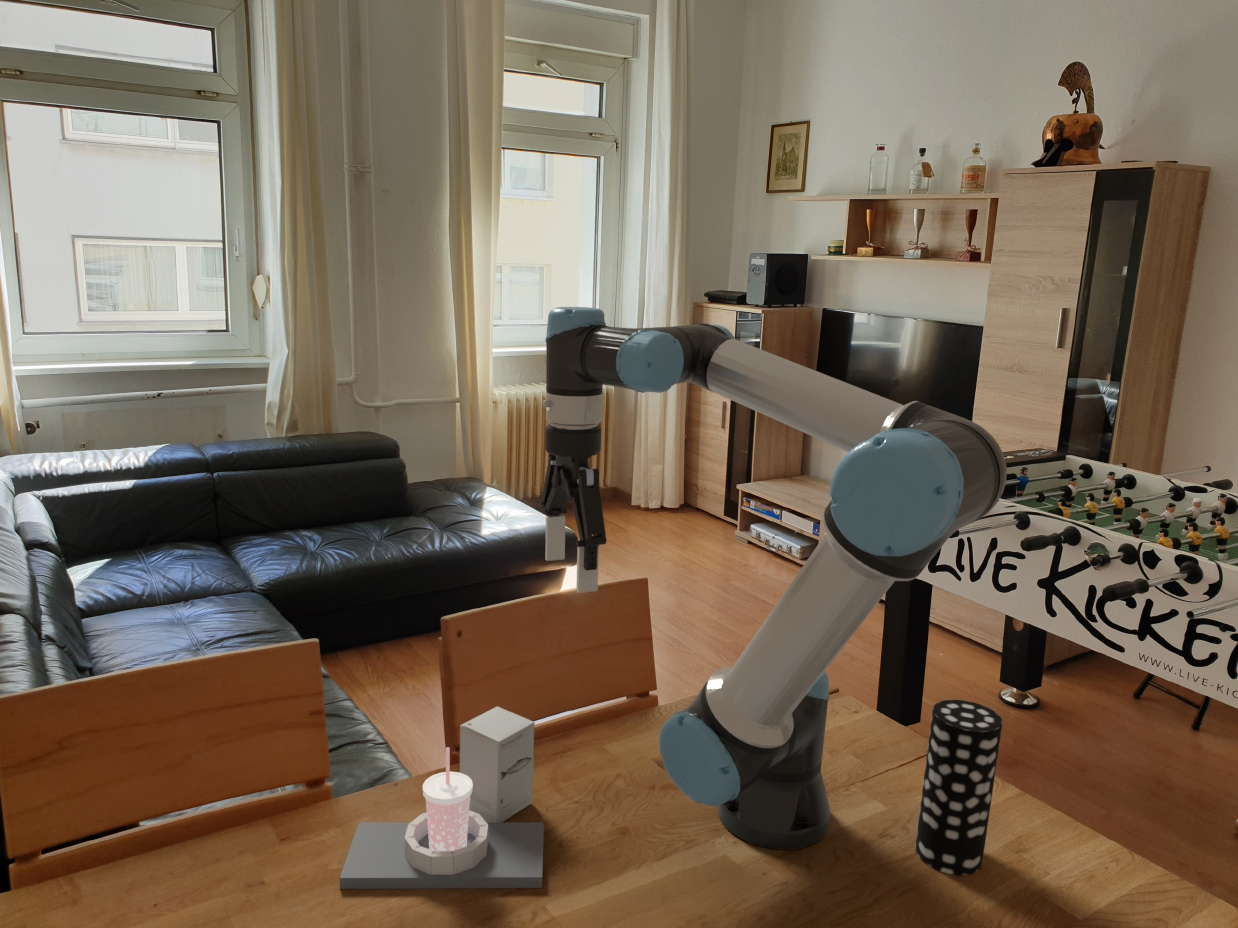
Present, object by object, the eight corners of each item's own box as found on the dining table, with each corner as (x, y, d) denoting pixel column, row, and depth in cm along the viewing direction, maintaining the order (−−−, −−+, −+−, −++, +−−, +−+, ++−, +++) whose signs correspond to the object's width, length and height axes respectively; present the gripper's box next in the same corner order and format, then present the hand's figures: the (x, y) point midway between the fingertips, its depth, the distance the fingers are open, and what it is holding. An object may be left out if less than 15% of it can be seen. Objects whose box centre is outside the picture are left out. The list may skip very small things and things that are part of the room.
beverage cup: (443, 871, 114) (442, 767, 111) (412, 848, 118) (411, 747, 115) (482, 849, 118) (483, 748, 115) (452, 828, 122) (452, 730, 119)
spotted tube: (912, 864, 121) (930, 722, 117) (917, 828, 129) (934, 694, 124) (981, 882, 118) (1002, 737, 114) (982, 844, 126) (1002, 707, 121)
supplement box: (496, 828, 125) (497, 742, 122) (457, 807, 129) (457, 723, 126) (534, 804, 131) (536, 721, 128) (495, 784, 135) (496, 703, 132)
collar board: (543, 832, 125) (544, 805, 124) (541, 887, 114) (542, 858, 113) (359, 832, 123) (358, 805, 122) (339, 888, 112) (338, 859, 111)
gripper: (520, 409, 136) (519, 549, 141) (578, 443, 114) (574, 609, 118) (569, 407, 139) (566, 545, 144) (635, 440, 116) (629, 602, 121)
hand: (570, 574), depth 131 cm, fingers open, 13 cm apart
